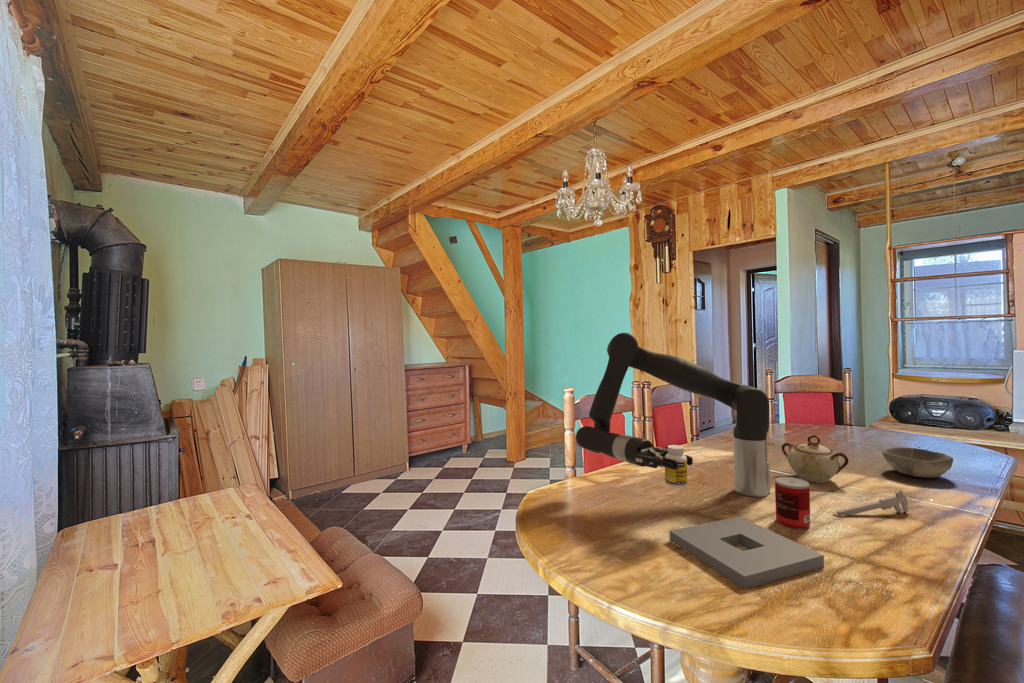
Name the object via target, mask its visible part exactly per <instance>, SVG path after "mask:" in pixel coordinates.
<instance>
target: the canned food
mask: <svg viewBox="0 0 1024 683" xmlns="http://www.w3.org/2000/svg"><path fill="white" fill-rule="evenodd" d="M810 491H811V490H810V482H809V481H805V480H802V479H800V478H799V477H797V478H796V477H792V476H780V477H776V478H775V479H774V494H775V495H774V499H775V501H774V502H775V518H776V521H777V523H778V522H779V523H778V524H780V525H781V524H782V526H783V525H784V526H783V527H786V526H787V527H786V528H789V527H790V528H789V529H794V528H795V530H804V529H807V528H809V527H810V525H811V497H810V496H811V494H810V493H811V492H810Z"/></svg>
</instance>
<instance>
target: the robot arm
mask: <svg viewBox="0 0 1024 683" xmlns="http://www.w3.org/2000/svg"><path fill="white" fill-rule="evenodd" d="M606 350H607V351H606V352H607V355H608V361H607V365H606V368H605V371H604V375H603V377H602V379H601V381H600V383H599V386H598V388H597V390H596V392H595V395H594V398H593V399H592V404H591V405H590V406H591V407H590V409H589V413H588V417H589V418H590V419H591V420H592V422H593V423H594V424H593V426H591V425H590V426H589V425H584V426H582V427H580V428H579V429H578V430H577V431H576V434H575V441H576V443H577V445H578V446H579V447H581V448H582V449H584V450H587V451H589V452H592V453H595V454H604V455H606V456H608V457H612V458H614V459H617V460H620V461H623V462H626V463H629V464H631V465H632V464H633V465H635V466H639V467H648V468H652V469H658V467H659V468H665V467H667V468H670V469H674V470H677V469H678V461H676V460H672V459H668V458H665V455H666V454H668V453H669V452H668V446H669V445H667V446H665V447H664V448H662V447H659V446H654V445H653V443H652V442H651V441H650V440H649V439H646V438H642V437H638V436H634V435H633V436H632V435H629V434H628V435H627V434H619V433H615V432H611V419H612V416H613V413H614V410H615V408H616V405H617V401H618V398H619V395H620V391H621V387H622V384H623V382H624V379H625V376H626V374H627V371H628V369H629V367H630V368H631V369H632V368H633V369H636V370H638V371H641V372H643V373H645V374H648V375H650V376H652V377H654V378H657V379H659V380H661V381H662V382H665V383H667V384H670V385H672V386H674V387H676V388H679V389H681V390H684V391H687V392H689V393H693V394H696V395H700V396H703V397H707V398H711V399H713V400H715V401H718V402H720V403H722V404H723V405H725V406H727V407H730V409H733V410H734V411H736V424H735V426H734V427H733V464H734V465H733V466H734V467H733V471H734V472H733V473H734V475H733V476H734V491H735V492H736V493H738V494H739V495H743V496H747V497H754V498H755V497H757V498H761V497H767V496H768V495H769V494H770V493H771V467H770V465H771V464H770V462H769V461H768V432H769V429H770V402H769V398H768V395H767V394H766V393H765V392H764V391H763V390H762V389H758V387H753V386H750V385H746V384H742V383H738V382H736V381H732V380H729V379H726V378H723V377H721V376H718V375H717V374H715V373H714V372H712V371H710V370H709V369H706V368H704V367H703V366H701V365H699V364H697V363H694V362H692V361H690V360H687V359H685V358H682V357H679V356H676V355H670V354H666V353H665V354H664V353H658V352H654V351H651V350H648V349H647V348H644V347H641V346H640V345H639V342H638V340H637V339H636V337H635V336H634V335H633V334H631V333H629V332H620V333H618V334H616V335H614V336H613V337H612V338H611V339H610V341H609V343H608V345H607V348H606ZM684 455H685V456H686V457H687V466H693V463H694V462H693V460H694V459H693V457H692V456H691V455H688V454H687V455H686V454H684Z"/></svg>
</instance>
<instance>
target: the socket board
mask: <svg viewBox="0 0 1024 683" xmlns="http://www.w3.org/2000/svg"><path fill="white" fill-rule="evenodd" d="M671 541H672V542H674V543H675V544H677V545H678V546H677V545H676V546H677V547H679V546H680V547H681V548H680V547H679V548H680V549H682V548H683V549H685V550H686V551H687V552H686V551H685V550H684V551H685V552H686V553H688V552H689V553H690V554H689V553H688V554H689V555H691V554H692V555H691V556H693V557H694V556H695V557H694V558H696V559H697V560H699V561H701V562H702V563H703V564H705V565H706V566H708V567H710V568H711V569H713V570H714V571H716V572H717V573H719V574H720V575H722V576H724V577H725V578H727V579H729V580H730V581H731V582H734V583H735V584H737V585H738V586H739V587H740V588H743V589H744V590H747V589H751V588H753V587H754V588H755V587H757V586H761V585H765V584H769V583H771V582H775V581H778V580H782V579H786V578H789V577H794V576H796V575H800V574H803V573H808V572H810V571H815V570H818V569H822V568H824V567H825V557H824V556H825V555H824V554H822V553H820V552H818V551H816V550H813V549H811V548H809V547H807V546H805V545H802V544H800V543H799V542H796V541H794V540H791V539H790V538H788V537H785V536H783V535H780V534H779V533H777V532H774V531H772V530H770V529H768V528H766V527H763V526H761V525H759V524H757V523H755V522H752V521H751V520H748V519H746V518H743V517H742V516H739V515H738V516H735V517H728V518H724V519H719V520H714V521H710V522H706V523H705V522H704V523H700V524H696V525H691V526H687V527H682V528H677V529H672V530H669V542H671ZM672 542H671V543H672ZM674 543H673V544H674ZM675 544H674V545H675ZM738 544H739V545H742V546H744V547H745V548H747V550H746V549H745V550H743V551H742V550H740V549H738V548H737V547H735V546H739V545H738ZM734 545H735V546H734ZM683 549H682V550H683Z"/></svg>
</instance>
